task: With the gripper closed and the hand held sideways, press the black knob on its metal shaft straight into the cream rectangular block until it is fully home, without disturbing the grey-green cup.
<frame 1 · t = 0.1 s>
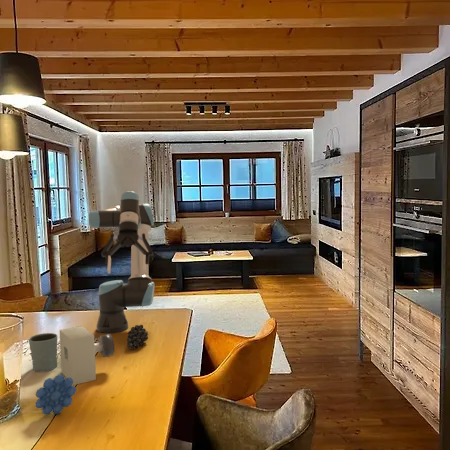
hand: (126, 271, 179), 36 cm above the table, fingers open, 13 cm apart
knob: (96, 347, 171), point 9 cm above the table, slide at 5.0 cm
grey-green cup: (44, 368, 177), on the table
cream rectangular block: (78, 375, 168), on the table
grapes: (57, 413, 140), on the table
fruit: (135, 346, 200), on the table
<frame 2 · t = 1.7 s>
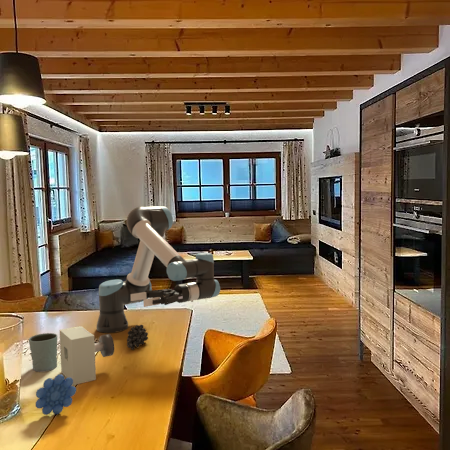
hand: (137, 300, 180), 24 cm above the table, fingers open, 12 cm apart
nothing on the table moved.
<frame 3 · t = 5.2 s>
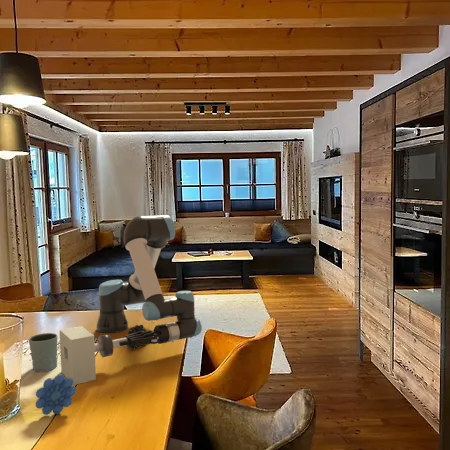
hand: (110, 344, 174), 9 cm above the table, fingers closed
knob: (95, 347, 171), point 9 cm above the table, slide at 4.6 cm, touching gripper
everything else where it was.
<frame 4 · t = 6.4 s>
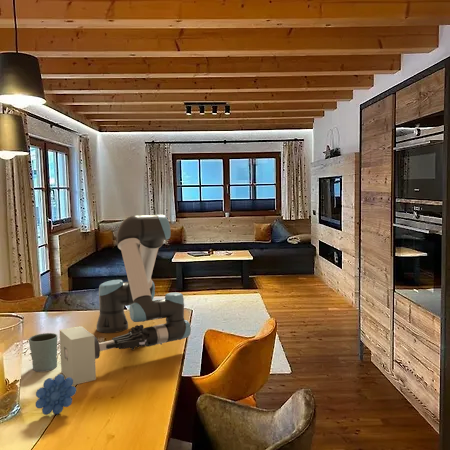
hand: (96, 347, 171), 9 cm above the table, fingers closed
knob: (81, 350, 168), point 9 cm above the table, slide at -0.5 cm, touching gripper, cream rectangular block
everything else where it was.
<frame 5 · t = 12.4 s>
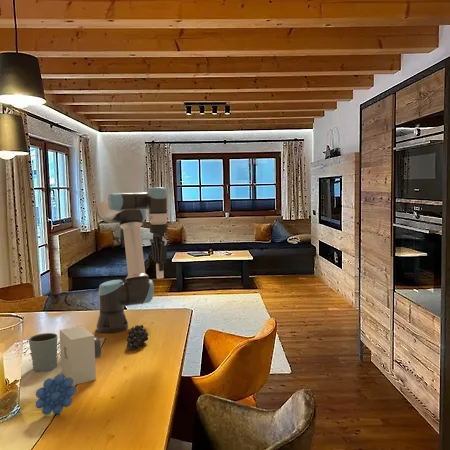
hand: (160, 278, 199), 29 cm above the table, fingers closed
knob: (82, 350, 169), point 9 cm above the table, slide at 0.0 cm
everything else where it was.
at the end: knob slide at 0.0 cm; grey-green cup moved 0.2 cm from its start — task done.
